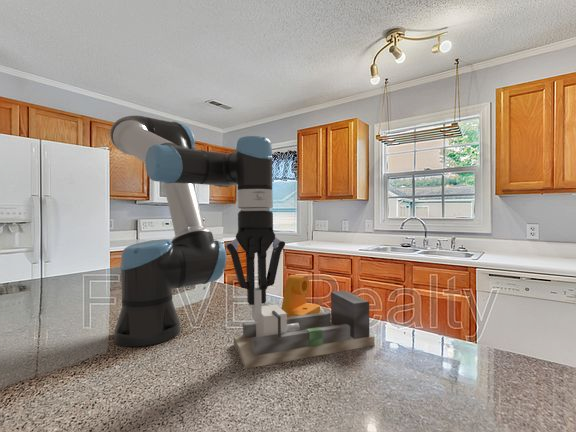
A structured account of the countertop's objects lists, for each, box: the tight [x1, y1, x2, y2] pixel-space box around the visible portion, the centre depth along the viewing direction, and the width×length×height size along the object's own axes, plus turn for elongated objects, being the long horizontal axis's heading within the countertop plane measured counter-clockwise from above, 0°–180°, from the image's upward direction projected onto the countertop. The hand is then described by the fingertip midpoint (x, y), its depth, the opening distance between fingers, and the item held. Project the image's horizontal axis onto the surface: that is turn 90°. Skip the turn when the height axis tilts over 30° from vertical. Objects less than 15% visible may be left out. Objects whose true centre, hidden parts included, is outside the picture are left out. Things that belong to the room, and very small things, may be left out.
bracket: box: [280, 274, 321, 317], centre depth 92 cm, size 11×7×12 cm, turn 147°
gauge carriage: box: [256, 304, 300, 337], centre depth 70 cm, size 9×10×7 cm
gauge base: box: [233, 290, 376, 370], centre depth 73 cm, size 30×12×10 cm, turn 110°
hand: (256, 318), depth 69 cm, fingers closed
